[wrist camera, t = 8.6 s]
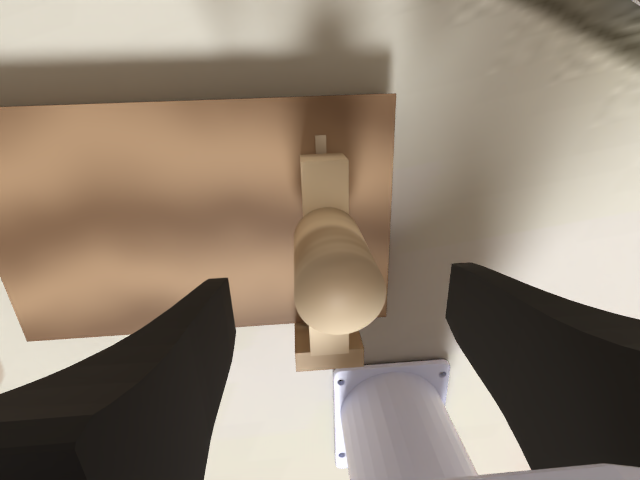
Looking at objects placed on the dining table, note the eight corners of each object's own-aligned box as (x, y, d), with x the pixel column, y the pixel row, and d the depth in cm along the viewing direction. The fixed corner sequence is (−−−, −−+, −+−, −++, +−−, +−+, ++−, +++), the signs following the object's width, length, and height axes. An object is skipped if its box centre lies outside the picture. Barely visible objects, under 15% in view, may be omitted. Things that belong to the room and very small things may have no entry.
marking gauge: (353, 327, 22) (386, 453, 15) (295, 331, 22) (297, 461, 14) (354, 147, 18) (401, 187, 10) (283, 150, 18) (276, 193, 10)
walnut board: (378, 298, 23) (386, 317, 21) (49, 320, 22) (25, 342, 20) (385, 93, 18) (396, 93, 16) (-30, 108, 17) (-72, 109, 15)
